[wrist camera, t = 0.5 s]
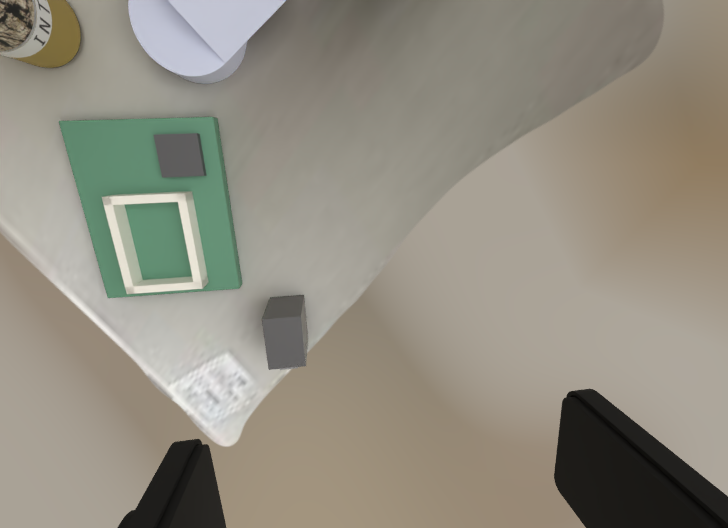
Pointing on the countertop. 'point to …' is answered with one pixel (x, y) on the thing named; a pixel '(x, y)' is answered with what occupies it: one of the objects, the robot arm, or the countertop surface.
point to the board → (155, 203)
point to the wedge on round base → (198, 33)
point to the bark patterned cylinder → (39, 31)
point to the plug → (285, 332)
